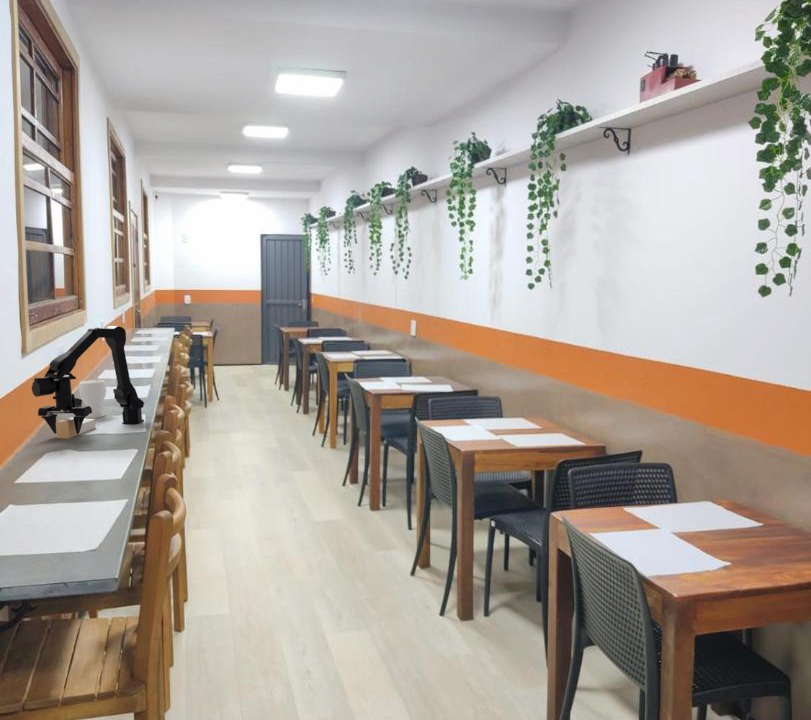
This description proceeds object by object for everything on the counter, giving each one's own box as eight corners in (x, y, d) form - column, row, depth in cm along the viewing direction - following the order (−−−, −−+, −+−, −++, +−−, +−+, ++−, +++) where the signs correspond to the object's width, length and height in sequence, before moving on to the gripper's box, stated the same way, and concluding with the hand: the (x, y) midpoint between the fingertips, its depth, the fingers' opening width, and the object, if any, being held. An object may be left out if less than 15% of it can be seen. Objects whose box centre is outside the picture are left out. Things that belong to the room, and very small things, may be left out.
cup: (75, 417, 316) (72, 382, 314) (96, 413, 326) (93, 379, 324) (93, 419, 311) (90, 384, 309) (113, 414, 321) (111, 380, 319)
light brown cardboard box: (77, 435, 283) (75, 419, 282) (69, 438, 278) (67, 422, 277) (65, 435, 283) (63, 419, 282) (57, 438, 278) (55, 422, 278)
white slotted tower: (95, 427, 295) (94, 418, 294) (77, 434, 283) (77, 425, 283) (83, 427, 296) (83, 418, 295) (65, 434, 284) (64, 425, 283)
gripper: (98, 388, 285) (101, 428, 287) (53, 388, 288) (57, 428, 290) (81, 393, 274) (85, 435, 276) (35, 394, 277) (39, 435, 279)
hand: (66, 433), depth 280 cm, fingers open, 9 cm apart
